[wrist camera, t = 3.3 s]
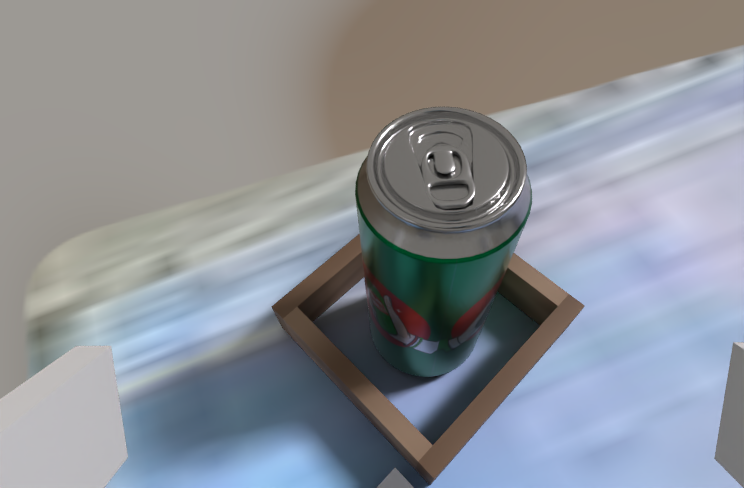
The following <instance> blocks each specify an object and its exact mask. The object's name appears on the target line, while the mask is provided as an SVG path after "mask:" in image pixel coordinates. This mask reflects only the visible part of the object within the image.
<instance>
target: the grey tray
mask: <svg viewBox="0 0 744 488" xmlns="http://www.w3.org/2000/svg"><path fill="white" fill-rule="evenodd" d="M377 488H414V487H413V486H412V485H411V484H410V483H409V482H408V481H407V480H406V479H405V477H404V476H403V475H402V474H401V473H400V472H399V471H398V470H397V469H396V468H394V469H393V470H392V471H391V472H390V473H389V475H388V476H387V477H386V478H385V479H384V480H383V481H382V482H381V483H380V484H379V485H378V487H377Z"/></svg>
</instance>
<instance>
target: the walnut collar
mask: <svg viewBox="0 0 744 488" xmlns="http://www.w3.org/2000/svg"><path fill="white" fill-rule="evenodd" d="M363 277H364V269H363V260H362V251H361V242H360V234H359V235H357V236H356V237H355V238H354V239H353V240H351V241H350V242H349V243H348V244H346V245H345V246H344V247H343V248H342V249H340V250H339V251H338V252H337V253H336V254H334V255H333V256H332V257H331V258H330V259H328V260H327V261H326V262H325V263H324V264H322V265H321V266H320V267H319V268H318V269H316V270H315V271H314V272H313V273H312V274H310V275H309V276H308V277H307V278H306V279H304V280H303V281H302V282H301V283H300V284H298V285H297V286H296V287H295V288H293V289H292V290H291V291H290V292H289V293H287V294H286V295H285V296H284V297H283V298H281V299H280V300H279V301H278V302H277V303H275V304H274V305H273V306H272V309H273V311H274V313H275V314H276V316H277V318H278V320H279V322H280V324H281V326H282V328H283V329H284V330H285V331H286V332H287V333H288V334H289V335H290V336H291V338H292V339H293V340H294V341H295V342H296V343H297V344H298V345H299V346H300V347H301V348H302V349H303V350H304V351H305V353H306V354H307V355H308V356H309V357H310V358H311V359H312V360H313V361H314V362H315V363H316V364H317V365H318V366H319V367H320V369H321V370H322V371H323V372H324V373H325V374H326V375H327V376H328V377H329V378H330V379H331V380H332V381H333V382H334V383H335V385H336V386H337V387H338V388H339V389H340V390H341V391H342V392H343V393H344V394H345V395H346V396H347V397H348V398H349V399H350V401H351V402H352V403H353V404H354V405H355V406H356V407H357V408H358V409H359V410H360V411H361V412H362V413H363V414H364V416H365V417H366V418H367V419H368V420H369V421H370V422H371V423H372V424H373V425H374V426H375V427H376V428H377V429H378V430H379V432H380V433H381V434H382V435H383V436H384V437H385V438H386V439H387V440H388V441H389V442H390V443H391V444H392V445H393V446H394V448H395V449H396V450H397V451H398V452H399V453H400V454H401V455H402V456H403V457H404V458H405V459H406V460H407V461H408V462H409V464H410V465H411V466H412V467H413V468H414V469H415V470H416V471H417V472H418V473H419V474H420V475H421V476H422V477H423V479H424V480H425V481H426V482H427V483H428V484H429V485H431V484H432V482H433V481H434V480H435V479H436V478H437V477H438V476H439V474H440V473H441V472H442V471H443V470H444V469H445V468H446V466H447V465H448V464H449V463H450V462H451V461H452V460H453V458H454V457H455V456H456V455H457V454H458V453H459V451H460V450H461V449H462V448H463V447H464V446H465V445H466V443H467V442H468V441H469V440H470V439H471V438H472V437H473V435H474V434H475V433H476V432H477V431H478V430H479V428H480V427H481V426H482V425H483V424H484V423H485V422H486V420H487V419H488V418H489V417H490V416H491V415H492V414H493V412H494V411H495V410H496V409H497V408H498V407H499V405H500V404H501V403H502V402H503V401H504V400H505V399H506V397H507V396H508V395H509V394H510V393H511V392H512V391H513V389H514V388H515V387H516V386H517V385H518V384H519V383H520V381H521V380H522V379H523V378H524V377H525V376H526V374H527V373H528V372H529V371H530V370H531V369H532V368H533V366H534V365H535V364H536V363H537V362H538V361H539V360H540V358H541V357H542V356H543V355H544V354H545V353H546V351H547V350H548V349H549V348H550V347H551V346H552V345H553V343H554V342H555V341H556V340H557V339H558V338H559V337H560V335H561V334H562V333H563V332H564V331H565V330H566V328H567V327H568V326H569V325H570V324H571V322H572V321H573V320H574V319H575V317H576V316H577V315H578V314H579V313H580V311H581V310H582V309H583V308H584V305H583V304H582V303H580V302H579V301H578V300H576V299H575V298H573V297H572V296H571V295H569V294H568V293H567V292H565V291H564V290H563V289H561V288H560V287H559V286H557V285H556V284H555V283H553V282H552V281H551V280H549V279H548V278H547V277H545V276H544V275H543V274H541V273H540V272H539V271H537V270H536V269H535V268H533V267H532V266H531V265H529V264H528V263H527V262H525V261H524V260H523V259H521V258H520V257H519V256H517V255H516V254H515V253H513V255H512V258H511V260H510V262H509V265H508V267H507V270H506V272H505V275H504V277H503V279H502V282H501V284H500V287H499V289H498V292H499V293H500V294H501V295H503V296H504V297H505V298H506V299H508V300H509V301H510V302H511V303H513V304H514V305H515V306H516V307H518V308H519V309H520V310H521V311H523V312H524V313H525V314H526V315H528V316H529V317H530V318H531V319H533V320H534V321H535V322H536V323H538V324H539V325H540V327H539V328H538V329H537V330H536V331H535V332H534V333H533V334H532V336H531V337H530V338H529V339H528V340H527V341H526V342H525V343H524V344H523V346H522V347H521V348H520V349H519V350H518V351H517V352H516V353H515V354H514V356H513V357H512V358H511V359H510V360H509V361H508V362H507V363H506V364H505V366H504V367H503V368H502V369H501V370H500V371H499V372H498V373H497V374H496V376H495V377H494V378H493V379H492V380H491V381H490V382H489V383H488V384H487V386H486V387H485V388H484V389H483V390H482V391H481V392H480V393H479V394H478V396H477V397H476V398H475V399H474V400H473V401H472V402H471V403H470V404H469V406H468V407H467V408H466V409H465V410H464V411H463V412H462V413H461V414H460V416H459V417H458V418H457V419H456V420H455V421H454V422H453V423H452V424H451V426H450V427H449V428H448V429H447V430H446V431H445V432H444V433H443V434H442V436H441V437H440V438H439V439H438V440H437V441H436V442H435V443H434V444H433V445H432V444H431V443H430V442H429V441H428V440H427V439H426V438H425V437H424V436H423V435H422V434H421V433H420V432H419V431H418V430H417V429H416V428H415V427H414V426H413V425H412V424H411V423H410V422H409V421H408V419H407V418H406V417H405V416H404V415H403V414H402V413H401V412H400V411H399V410H398V409H397V408H396V407H395V406H394V405H393V404H392V403H391V402H390V401H389V400H388V399H387V398H386V397H385V396H384V395H383V394H382V393H381V392H380V391H379V390H378V389H377V388H376V387H375V386H374V385H373V384H372V383H371V382H370V381H369V380H368V379H367V378H366V377H365V376H364V375H363V374H362V373H361V372H360V370H359V369H358V368H357V367H356V366H355V365H354V364H353V363H352V362H351V361H350V360H349V359H348V358H347V357H346V356H345V355H344V354H343V353H342V352H341V351H340V350H339V349H338V348H337V347H336V346H335V345H334V344H333V343H332V342H331V341H330V340H329V339H328V338H327V337H326V336H325V335H324V334H323V333H322V332H321V331H320V330H319V329H318V328H317V327H316V326H315V325H314V324H313V321H314V320H315V319H317V318H318V317H319V316H320V315H321V314H322V313H323V312H325V311H326V310H327V309H328V308H329V307H330V306H331V305H333V304H334V303H335V302H336V301H337V300H338V299H339V298H340V297H342V296H343V295H344V294H345V293H346V292H347V291H348V290H350V289H351V288H352V287H353V286H354V285H355V284H356V283H358V282H359V281H360V280H361V279H362V278H363Z"/></svg>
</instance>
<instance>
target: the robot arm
mask: <svg viewBox="0 0 744 488" xmlns="http://www.w3.org/2000/svg"><path fill="white" fill-rule="evenodd" d="M127 458H128V454H127V447H126V441H125V434H124V428H123V421H122V415H121V408H120V401H119V395H118V388H117V382H116V375H115V369H114V362H113V356H112V349H111V346H76V347H74V348H73V349H71V350H70V351H68V352H67V353H66V354H64V355H63V356H61V357H60V358H58V359H57V360H56V361H54V362H53V363H51V364H50V365H48V366H47V367H46V368H44V369H43V370H41V371H40V372H38V373H37V374H36V375H34V376H33V377H31V378H30V379H29V380H27V381H26V382H24V383H23V384H22V385H20V386H19V387H17V388H16V389H14V390H13V391H11V392H10V393H9V394H7V395H6V396H4V397H3V398H1V399H0V488H104V487H105V486H106V485H107V484H108V482H109V481H110V480H111V478H112V477H113V476H114V475H115V473H116V472H117V471H118V470H119V468H120V467H121V466H122V464H123V463H124V462H125V461H126V459H127ZM714 459H715V460H716V461H717V462H718V463H719V464H720V465H721V466H722V467H723V468H724V469H725V470H726V471H727V472H728V473H729V474H730V475H731V476H732V477H733V478H734V479H735V480H736V481H737V482H738V483H739V484H740V485H741V486H742V487H743V488H744V342H738V343H733V347H732V353H731V360H730V366H729V372H728V378H727V384H726V390H725V397H724V403H723V409H722V415H721V421H720V427H719V434H718V440H717V446H716V452H715V458H714Z"/></svg>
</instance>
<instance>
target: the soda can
mask: <svg viewBox="0 0 744 488" xmlns="http://www.w3.org/2000/svg"><path fill="white" fill-rule="evenodd" d="M355 196H356V205H357V214H358V223H359V233H360V242H361V251H362V260H363V269H364V278H365V287H366V296H367V305H368V314H369V323H370V331H371V336H372V339H373V342H374V344H375V346H376V348H377V350H378V352H379V353H380V354H381V356H382V357H383V358H384V359H385V360H386V361H387V362H388V363H389V364H391V365H392V366H393V367H395V368H396V369H398V370H400V371H402V372H404V373H407V374H411V375H414V376H421V377H432V376H438V375H442V374H445V373H448V372H450V371H452V370H454V369H456V368H457V367H458V366H460V365H461V364H462V363H463V362H464V361H465V360H466V359H467V358H468V357H469V356H470V354H471V353H472V351H473V349H474V347H475V344H476V342H477V340H478V337H479V335H480V332H481V330H482V328H483V325H484V323H485V320H486V318H487V316H488V313H489V311H490V308H491V306H492V303H493V301H494V299H495V296H496V294H497V291H498V289H499V287H500V284H501V282H502V279H503V277H504V275H505V272H506V270H507V267H508V265H509V262H510V260H511V258H512V255H513V253H514V250H515V248H516V246H517V243H518V241H519V238H520V236H521V233H522V231H523V229H524V226H525V224H526V221H527V219H528V217H529V214H530V210H531V205H532V189H531V184H530V180H529V177H528V175H527V165H526V160H525V156H524V153H523V151H522V149H521V147H520V145H519V143H518V142H517V140H516V139H515V138H514V137H513V135H512V134H511V133H510V132H509V131H508V130H507V129H506V128H504V127H503V126H502V125H501V124H499V123H498V122H496V121H494V120H493V119H491V118H489V117H487V116H485V115H483V114H480V113H477V112H474V111H471V110H467V109H462V108H456V107H431V108H424V109H420V110H416V111H412V112H410V113H407V114H405V115H402V116H401V117H399V118H397V119H395V120H393V121H392V122H391V123H389V124H388V125H387V126H385V127H384V129H383V130H382V131H381V132H380V133H379V134H378V135H377V137H376V138H375V140H374V141H373V143H372V145H371V148H370V150H369V152H368V156H367V157H366V159H365V160H364V161H363V163H362V165H361V168H360V170H359V172H358V176H357V180H356V189H355Z"/></svg>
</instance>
